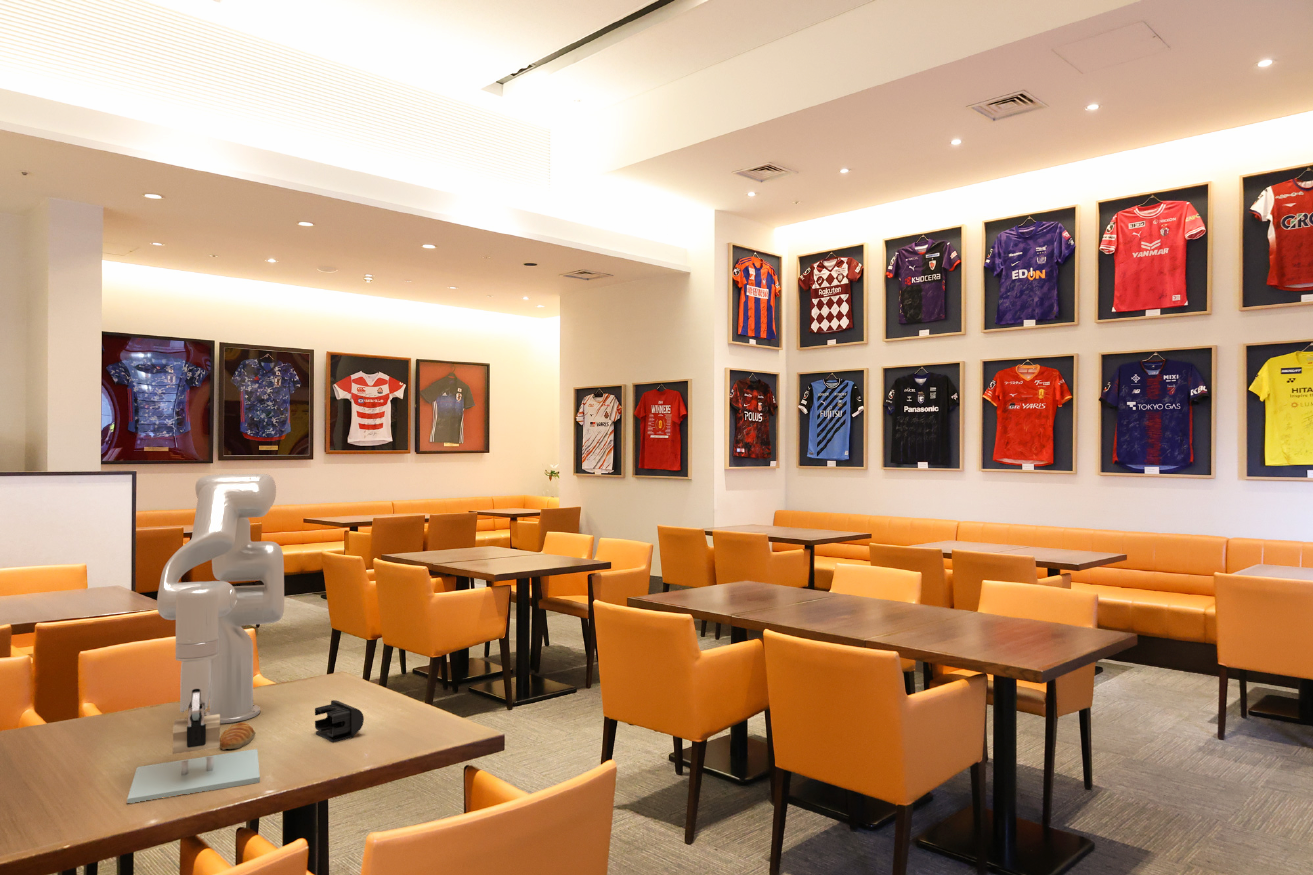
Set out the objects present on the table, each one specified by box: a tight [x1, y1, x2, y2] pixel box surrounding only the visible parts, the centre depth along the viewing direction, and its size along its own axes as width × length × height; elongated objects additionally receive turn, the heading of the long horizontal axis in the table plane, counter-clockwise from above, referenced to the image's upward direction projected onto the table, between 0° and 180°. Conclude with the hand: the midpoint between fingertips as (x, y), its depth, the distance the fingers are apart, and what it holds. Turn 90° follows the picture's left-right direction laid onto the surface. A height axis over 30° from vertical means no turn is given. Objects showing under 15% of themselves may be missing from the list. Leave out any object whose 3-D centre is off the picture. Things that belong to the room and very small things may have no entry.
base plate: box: [126, 748, 261, 804], centre depth 168 cm, size 18×22×4 cm
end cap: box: [314, 699, 365, 743], centre depth 193 cm, size 10×7×7 cm
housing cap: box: [172, 714, 221, 755], centre depth 168 cm, size 6×8×5 cm
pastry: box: [219, 721, 256, 751], centre depth 187 cm, size 9×7×4 cm
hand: (197, 740), depth 168 cm, fingers closed on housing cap, 6 cm apart
